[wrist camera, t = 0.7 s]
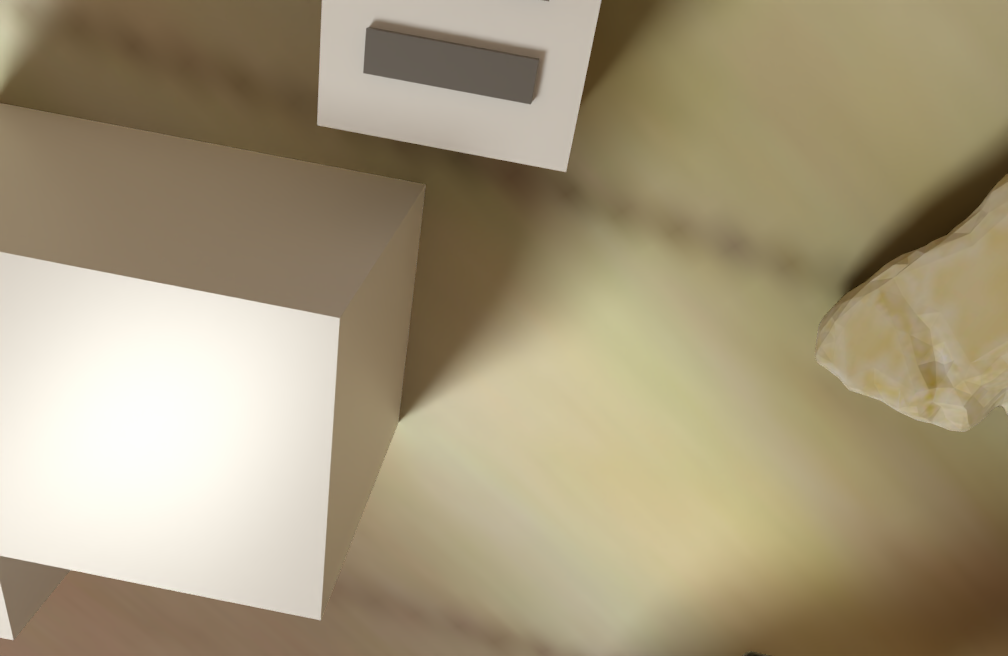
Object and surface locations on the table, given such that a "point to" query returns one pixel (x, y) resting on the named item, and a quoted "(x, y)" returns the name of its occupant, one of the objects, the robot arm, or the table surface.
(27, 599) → the striped block one
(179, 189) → the plain grey block
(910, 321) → the cheese
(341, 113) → the white marked cube
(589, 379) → the table surface
